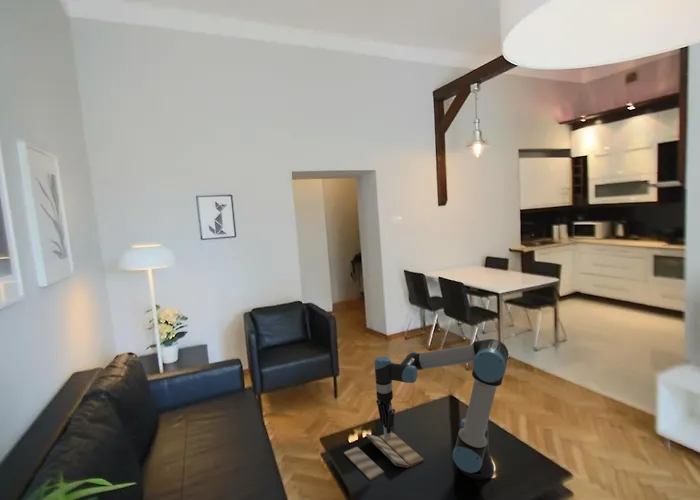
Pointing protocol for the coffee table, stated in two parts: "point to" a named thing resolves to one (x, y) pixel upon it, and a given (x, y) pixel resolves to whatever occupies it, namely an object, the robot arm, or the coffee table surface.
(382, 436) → the laid board
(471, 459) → the robot arm
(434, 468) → the coffee table surface
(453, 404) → the coffee table surface
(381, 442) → the board
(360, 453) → the plank
